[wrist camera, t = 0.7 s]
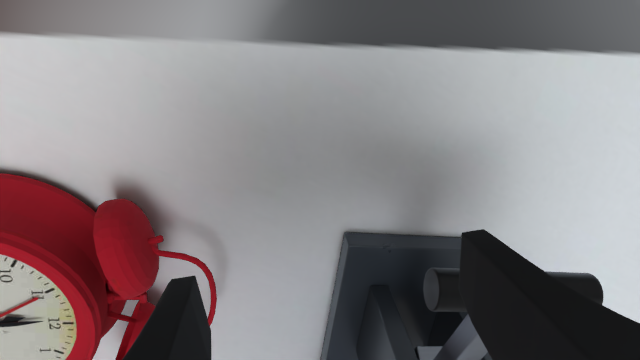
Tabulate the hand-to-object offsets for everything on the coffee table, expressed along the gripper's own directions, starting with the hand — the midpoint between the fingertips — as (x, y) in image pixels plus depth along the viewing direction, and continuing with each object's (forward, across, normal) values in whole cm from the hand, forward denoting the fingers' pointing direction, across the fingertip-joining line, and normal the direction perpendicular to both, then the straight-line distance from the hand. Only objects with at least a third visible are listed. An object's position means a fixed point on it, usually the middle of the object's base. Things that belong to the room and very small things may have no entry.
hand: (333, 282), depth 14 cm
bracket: (+10, -4, +11) cm, 16 cm away
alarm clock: (+10, +12, +5) cm, 17 cm away
